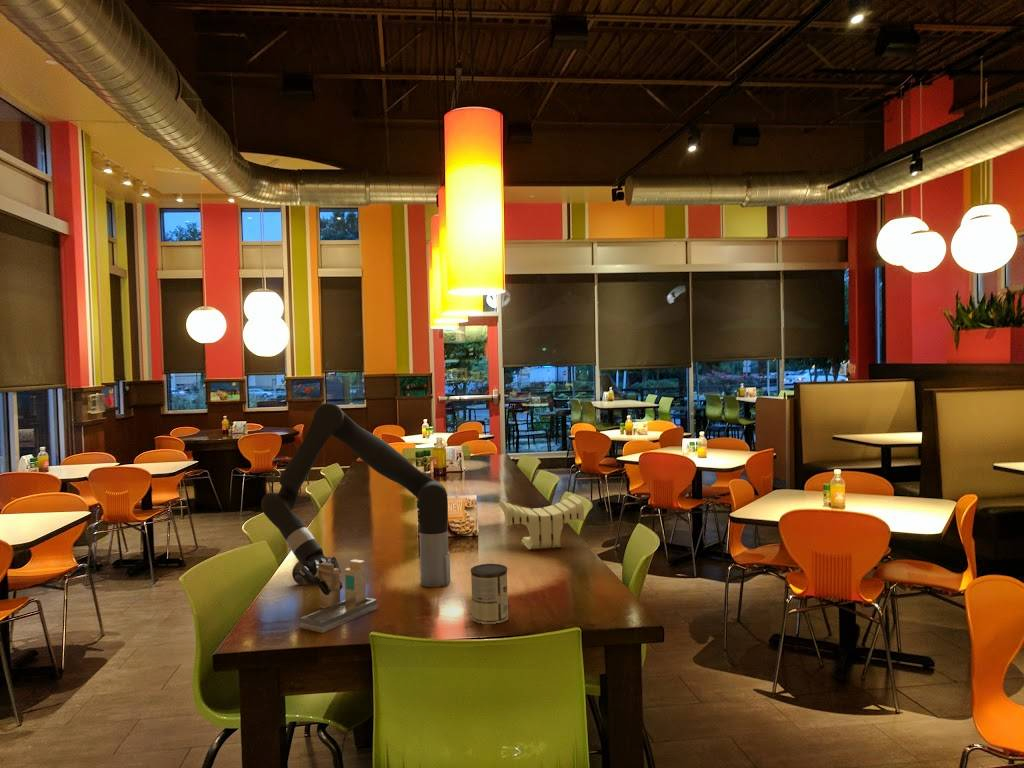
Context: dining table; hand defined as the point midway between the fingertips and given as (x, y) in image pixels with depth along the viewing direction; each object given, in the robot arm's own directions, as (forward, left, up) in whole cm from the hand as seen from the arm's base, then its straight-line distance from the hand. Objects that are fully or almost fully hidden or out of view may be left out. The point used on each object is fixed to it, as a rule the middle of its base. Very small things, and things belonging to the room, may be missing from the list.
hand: (334, 590), depth 217 cm
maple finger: (+2, -1, -5) cm, 5 cm away
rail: (-4, +8, -5) cm, 11 cm away
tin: (+15, -25, -5) cm, 29 cm away
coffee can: (-47, +7, -5) cm, 48 cm away
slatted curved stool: (-58, -75, -5) cm, 95 cm away
